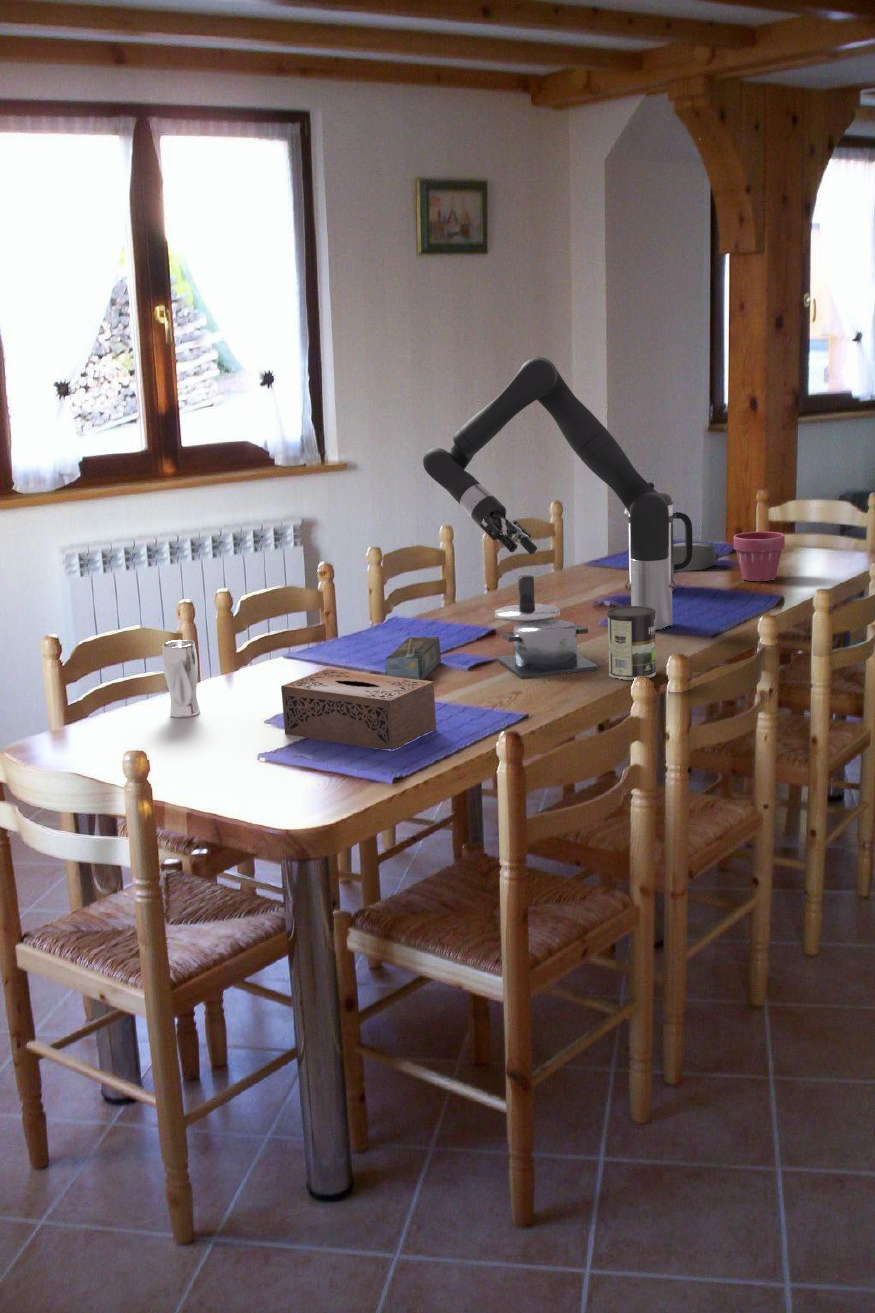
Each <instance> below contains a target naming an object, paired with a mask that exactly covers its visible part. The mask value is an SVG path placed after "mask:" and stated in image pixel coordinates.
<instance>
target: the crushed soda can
mask: <svg viewBox="0 0 875 1313" xmlns="http://www.w3.org/2000/svg"><path fill="white" fill-rule="evenodd" d="M161 646H162V666H163V667H162V668H163V673H164V678H165V681H166V685H167V689H168V691H169V695H170V710H169V713H170V716H171V717H172V718H177V719H184V718H185V719H187V718H191V717H196V716H198V715H199V714H200V713H201V710H200V706H199V703H198V702H199V701H198V698H197V687H198V686H197V685H198V674H199V673H198V672H199V666H198V663H199V662H198V655H197V650H196V649H197V648H196V644H195V641H194V640H192V639H178V640H177V639H176V640H170V641H167V642H164V643H162V645H161Z"/></svg>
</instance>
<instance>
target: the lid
mask: <svg viewBox="0 0 875 1313" xmlns="http://www.w3.org/2000/svg"><path fill="white" fill-rule="evenodd" d="M517 581H518V582H517V583H518V604H512V605H507V606H506V605H505V606H503V607H499V608H496V609H495V610H494V617H495V618H496V619H497V620H500V621H503V622H504V621H505V622H510V623H511V622H512V623H523V622H536V621H544V620H554V619H556V618H557V617H559V616H560V615H561V613H560V612H561V610H560V608H559V607H558V606H555V605H552V604H544V603H536V600H535V599H536V598H535V597H536V596H535V576H534V575H531V574H530V575H529V574H525V575H518V578H517Z"/></svg>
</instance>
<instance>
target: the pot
mask: <svg viewBox="0 0 875 1313" xmlns="http://www.w3.org/2000/svg"><path fill="white" fill-rule="evenodd" d="M583 634H584V635H585V634H589V628H588V627H586V626H584V625H583V624H576V623H575V622H572V621H568V620H561V619H549V620H544V621H536V622H518V623H516V624H515V625H514V626H513V631H510V632H502V633H501V638H502V639H504V640H505V641H507V642H508V643H513V645H514V647H513V648H514V650H513V651H514V654H509V655H508V654H507V655H500V656H495V661H496V662H498V663H499V664H500V665H502V666H503V667H505V669H507V670H508V671H510V673H511V672H512V673H513V674H514V675H515V676H517V677H518V678H520V679H529V678H530V679H531V678H536V677H537V678H538V677H546V676H547V675H548V676H553V674H556V675H562V674H561V673H564V674H569V673H568V672H572V673H580V672H588V671H597V670H599V665H598V664H597V663H594V662H593V661H592V660H590V659H588V658H586V657H584V656H583V655H581V654H580V653H578V641H577V640H578V639H577V638H578V636H577V635H583Z"/></svg>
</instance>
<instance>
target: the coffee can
mask: <svg viewBox="0 0 875 1313" xmlns="http://www.w3.org/2000/svg"><path fill="white" fill-rule="evenodd" d="M655 613H656V611H655V610H654V609H652V608H649V607H641V606H631V605H630V606H629V605H627V606H619V607H613V608H610V609H608V610H607V611H606V616H607V631H608V632H607V634H608V635H607V638H608V676H609V677H611V678H612V679H615V678H618V679H617V680H621V679H623V680H622V681H634V680H633V679H634V678H636V677H637V676H647V677H649V678H648V679H651V678H653V677H655V676H656V675H657V671H656V670H657V665H656V664H657V663H656V662H657V660H656V630H655Z"/></svg>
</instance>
